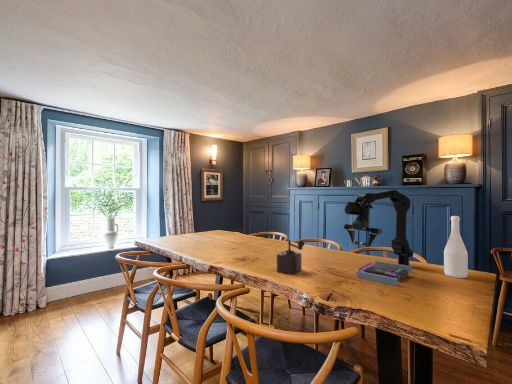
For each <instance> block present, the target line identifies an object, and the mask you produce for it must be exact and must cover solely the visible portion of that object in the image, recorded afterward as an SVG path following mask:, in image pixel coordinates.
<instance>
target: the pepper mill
mask: <svg viewBox="0 0 512 384" xmlns="http://www.w3.org/2000/svg"><path fill="white" fill-rule="evenodd" d="M296 243H297V245H296V244H292V243H291V240H290V239H289V240H288V243H287V245H288V249H287V250H284V251H282V252H279V253H277V254H276V272H277V273H280V274H288V275H296V274H297V275H298V273H300V272H301V271H302V253H301V252H296V251H294V250H292V249H291V246H292V247H293V248H297V249H298V250H300V251H301V250H303V247H304V246H305V241H304V240H303V239H299V240H298V241H297V242H296Z"/></svg>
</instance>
